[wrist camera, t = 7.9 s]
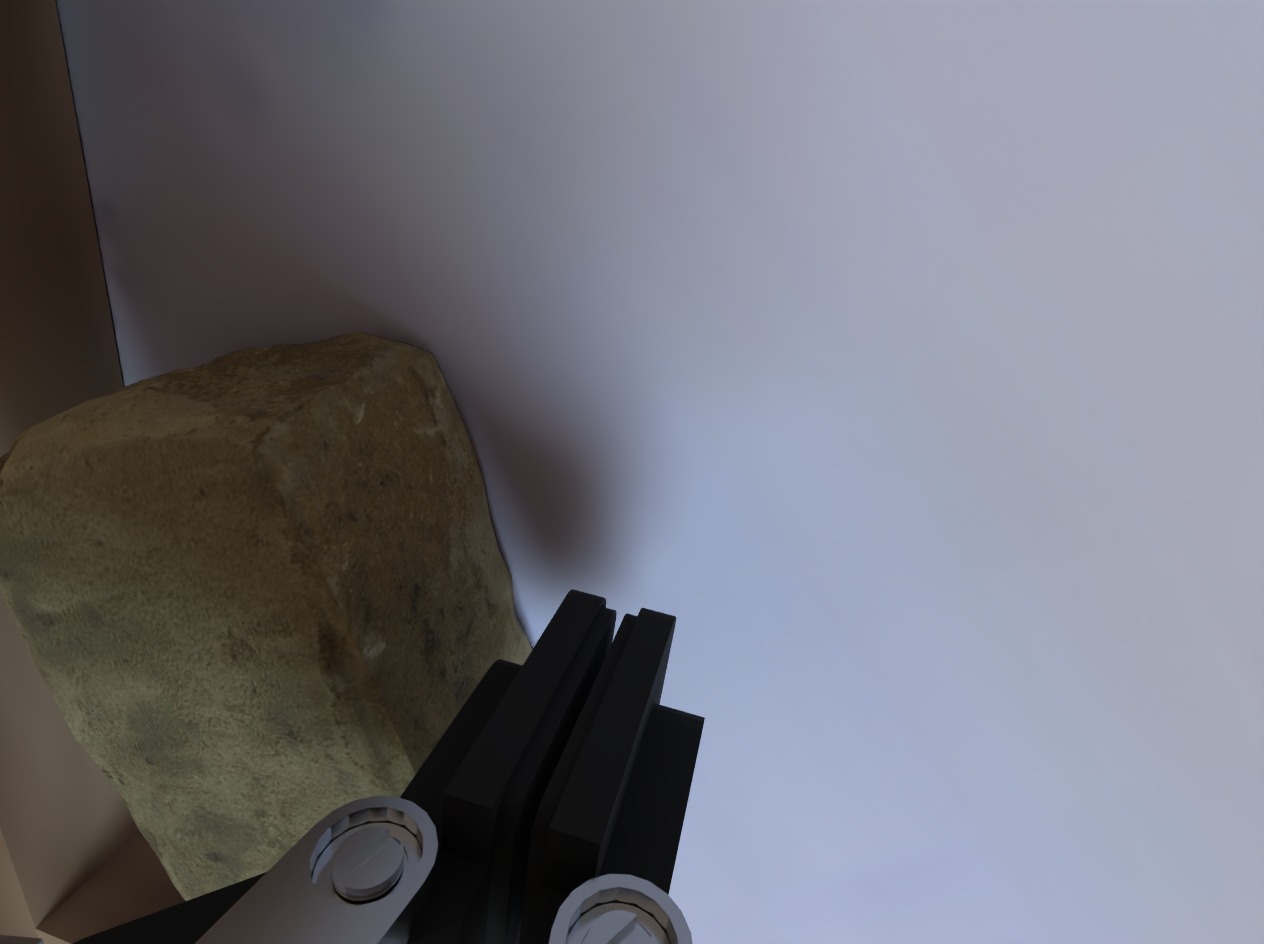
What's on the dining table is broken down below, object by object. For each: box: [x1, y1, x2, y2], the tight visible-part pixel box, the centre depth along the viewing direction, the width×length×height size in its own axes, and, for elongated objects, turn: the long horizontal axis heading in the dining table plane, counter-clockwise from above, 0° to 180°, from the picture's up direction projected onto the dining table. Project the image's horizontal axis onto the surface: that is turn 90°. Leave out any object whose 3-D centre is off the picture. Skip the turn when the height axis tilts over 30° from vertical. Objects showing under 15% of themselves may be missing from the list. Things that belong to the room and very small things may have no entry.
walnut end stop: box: [0, 0, 185, 944], centre depth 12 cm, size 9×22×4 cm, turn 172°
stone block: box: [0, 332, 533, 901], centre depth 12 cm, size 6×12×5 cm, turn 15°
